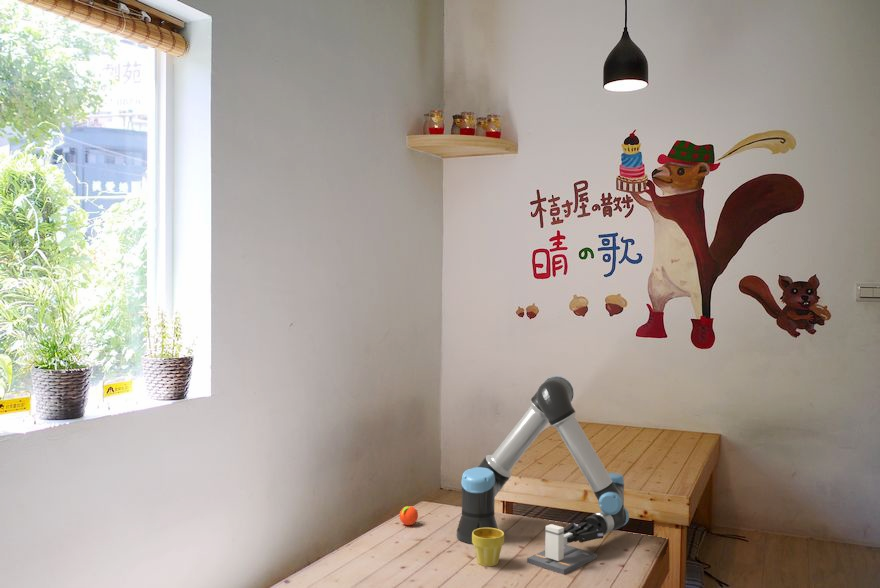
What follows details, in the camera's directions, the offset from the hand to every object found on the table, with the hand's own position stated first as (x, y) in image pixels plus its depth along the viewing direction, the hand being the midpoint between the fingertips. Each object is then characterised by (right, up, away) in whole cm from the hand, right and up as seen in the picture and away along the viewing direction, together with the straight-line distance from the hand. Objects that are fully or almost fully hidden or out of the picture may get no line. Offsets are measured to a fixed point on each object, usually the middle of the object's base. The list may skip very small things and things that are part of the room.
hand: (559, 541), depth 239 cm
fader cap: (-2, -5, -1) cm, 5 cm away
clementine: (-50, -6, +37) cm, 63 cm away
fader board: (+1, -7, +2) cm, 7 cm away
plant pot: (-23, -7, 0) cm, 24 cm away
